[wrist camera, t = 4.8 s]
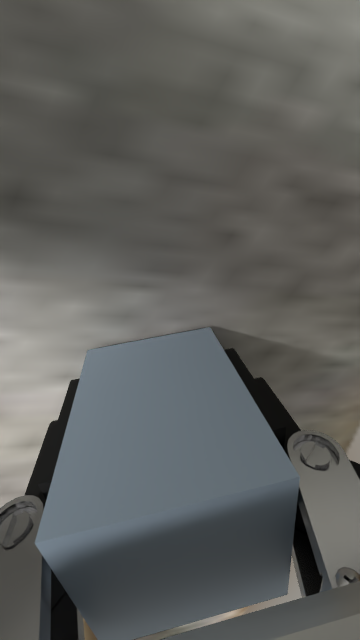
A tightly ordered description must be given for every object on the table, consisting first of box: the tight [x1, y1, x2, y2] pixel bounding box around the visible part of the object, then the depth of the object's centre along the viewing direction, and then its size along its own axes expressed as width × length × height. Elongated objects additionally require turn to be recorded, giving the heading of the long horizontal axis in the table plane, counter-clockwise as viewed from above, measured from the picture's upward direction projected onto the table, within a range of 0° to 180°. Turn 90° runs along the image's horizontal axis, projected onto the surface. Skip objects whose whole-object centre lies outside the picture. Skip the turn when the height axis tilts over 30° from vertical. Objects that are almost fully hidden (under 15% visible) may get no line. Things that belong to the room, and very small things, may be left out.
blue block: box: [35, 327, 300, 640], centre depth 8 cm, size 4×4×6 cm
